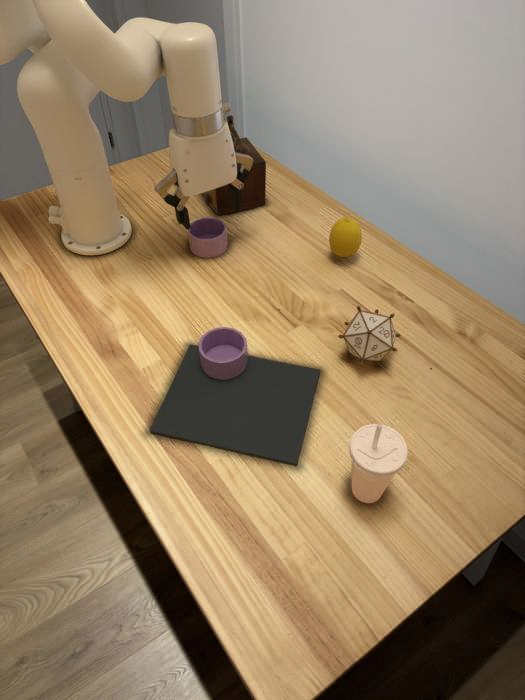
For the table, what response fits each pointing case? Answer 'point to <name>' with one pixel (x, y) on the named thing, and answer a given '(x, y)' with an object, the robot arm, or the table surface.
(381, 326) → the game die
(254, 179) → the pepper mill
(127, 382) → the table surface
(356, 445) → the smoothie
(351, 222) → the lemon
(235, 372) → the dish
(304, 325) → the table surface
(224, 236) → the dish
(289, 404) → the mat
